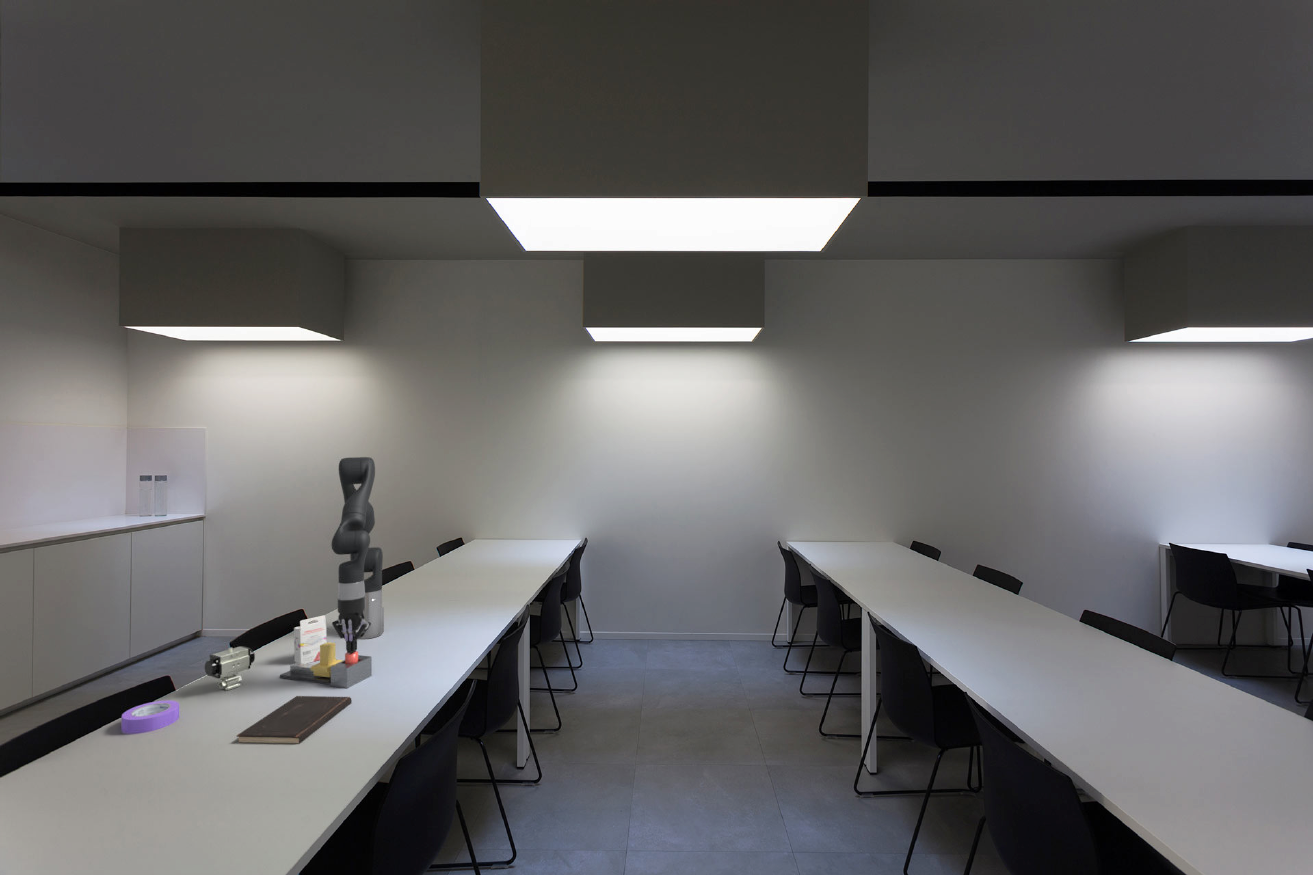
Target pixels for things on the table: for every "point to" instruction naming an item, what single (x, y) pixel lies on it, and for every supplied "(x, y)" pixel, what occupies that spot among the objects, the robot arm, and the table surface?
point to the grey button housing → (351, 672)
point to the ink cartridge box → (309, 639)
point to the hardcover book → (295, 720)
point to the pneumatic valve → (229, 666)
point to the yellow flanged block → (325, 660)
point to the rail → (304, 674)
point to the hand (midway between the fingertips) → (351, 652)
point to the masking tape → (150, 717)
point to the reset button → (351, 658)
